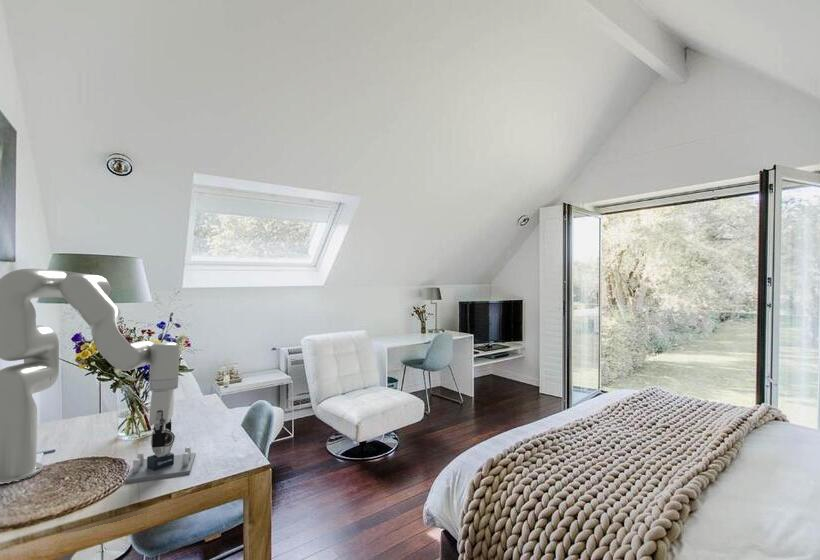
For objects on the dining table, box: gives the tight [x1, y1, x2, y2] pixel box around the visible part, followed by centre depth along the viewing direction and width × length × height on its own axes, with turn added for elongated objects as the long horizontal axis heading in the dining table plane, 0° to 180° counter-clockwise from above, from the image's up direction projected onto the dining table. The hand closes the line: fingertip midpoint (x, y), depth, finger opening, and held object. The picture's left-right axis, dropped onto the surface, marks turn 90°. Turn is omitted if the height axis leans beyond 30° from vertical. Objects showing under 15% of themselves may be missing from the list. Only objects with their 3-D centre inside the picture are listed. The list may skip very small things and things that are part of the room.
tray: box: [124, 446, 196, 484], centre depth 123 cm, size 16×14×4 cm
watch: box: [146, 428, 176, 471], centre depth 123 cm, size 6×8×11 cm
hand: (161, 440), depth 123 cm, fingers open, 9 cm apart
